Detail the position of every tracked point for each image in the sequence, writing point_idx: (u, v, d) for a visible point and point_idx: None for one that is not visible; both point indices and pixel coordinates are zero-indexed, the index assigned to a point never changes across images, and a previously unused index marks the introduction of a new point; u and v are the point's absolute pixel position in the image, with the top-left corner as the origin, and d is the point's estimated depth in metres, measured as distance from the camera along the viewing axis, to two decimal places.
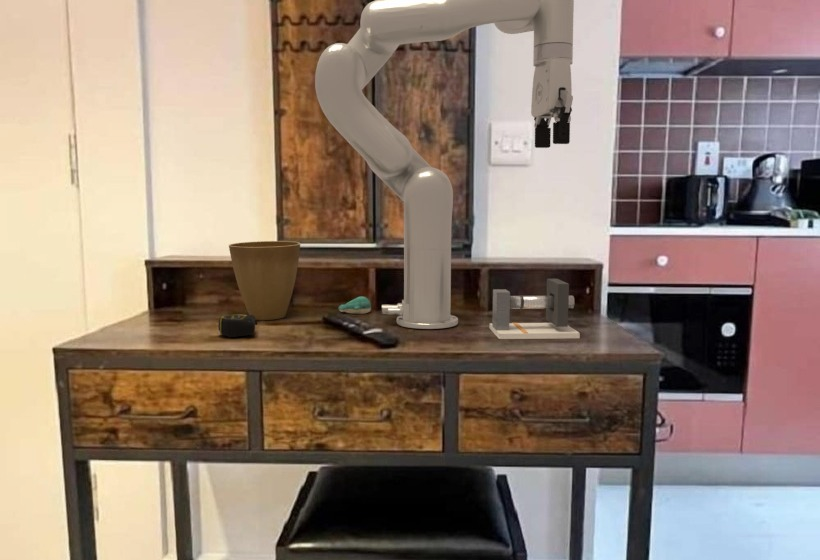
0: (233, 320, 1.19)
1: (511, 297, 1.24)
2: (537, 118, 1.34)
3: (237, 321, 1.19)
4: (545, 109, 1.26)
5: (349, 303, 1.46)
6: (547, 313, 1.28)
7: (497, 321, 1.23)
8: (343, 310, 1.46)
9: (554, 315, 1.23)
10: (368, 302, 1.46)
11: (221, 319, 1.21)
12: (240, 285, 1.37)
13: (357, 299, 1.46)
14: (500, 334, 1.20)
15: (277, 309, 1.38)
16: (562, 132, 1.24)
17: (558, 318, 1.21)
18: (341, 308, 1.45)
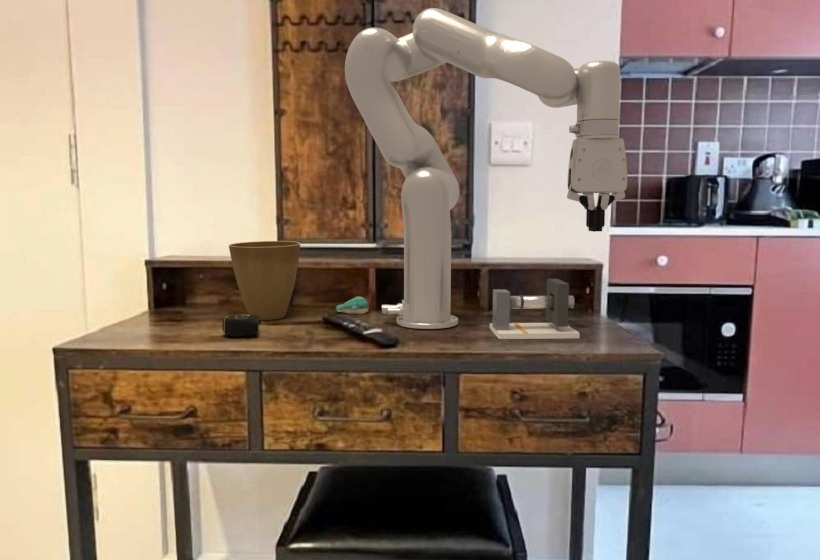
0: (237, 320, 1.20)
1: (511, 297, 1.24)
2: (591, 197, 1.21)
3: (241, 321, 1.20)
4: (620, 188, 1.20)
5: (346, 303, 1.46)
6: (547, 313, 1.28)
7: (497, 321, 1.23)
8: (340, 310, 1.45)
9: (554, 315, 1.23)
10: (365, 302, 1.46)
11: (225, 319, 1.21)
12: (240, 285, 1.37)
13: (354, 299, 1.46)
14: (500, 334, 1.20)
15: (277, 309, 1.38)
16: None
17: (558, 318, 1.21)
18: (338, 308, 1.45)
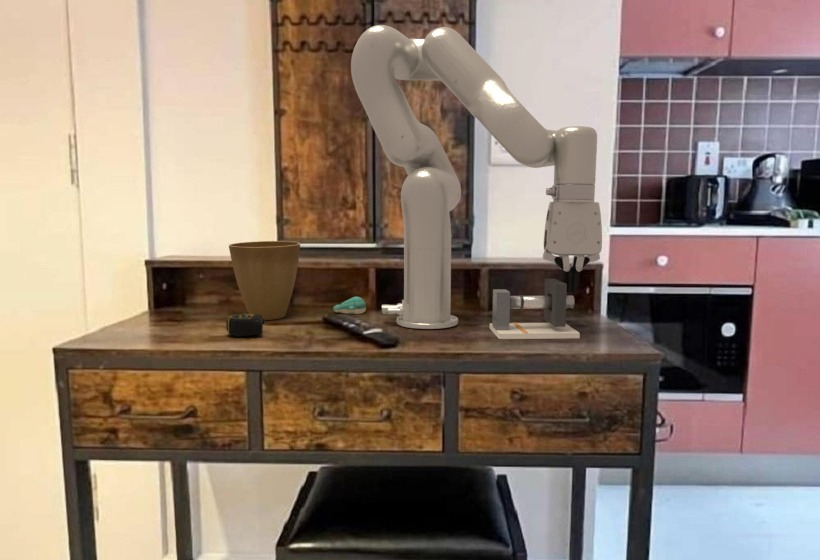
0: (241, 320, 1.20)
1: (511, 297, 1.24)
2: (566, 259, 1.23)
3: (245, 321, 1.20)
4: (595, 252, 1.21)
5: (344, 303, 1.46)
6: (544, 313, 1.28)
7: (497, 321, 1.23)
8: (338, 310, 1.45)
9: (552, 315, 1.23)
10: (363, 302, 1.46)
11: (229, 319, 1.21)
12: (240, 285, 1.37)
13: (352, 299, 1.46)
14: (500, 334, 1.20)
15: (277, 309, 1.38)
16: None
17: (556, 318, 1.21)
18: (336, 308, 1.45)
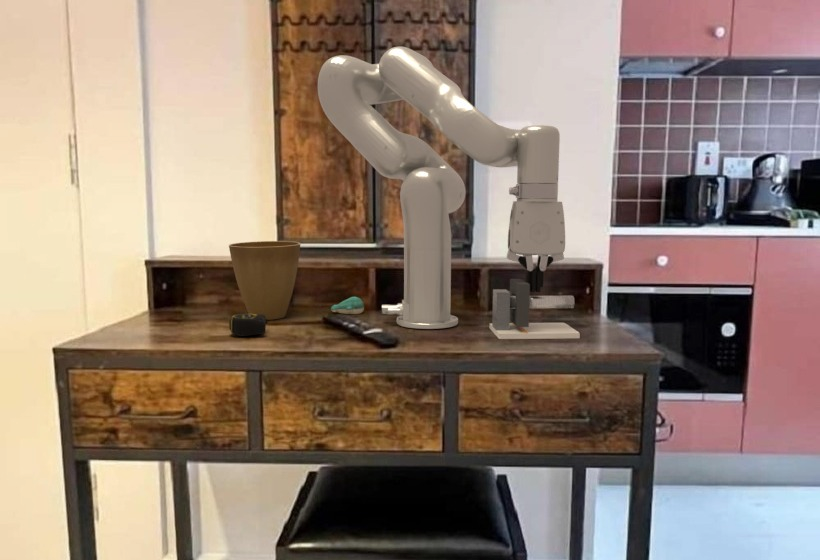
0: (244, 319, 1.20)
1: (511, 297, 1.24)
2: (529, 259, 1.22)
3: (248, 320, 1.20)
4: (558, 251, 1.21)
5: (342, 303, 1.46)
6: (510, 314, 1.28)
7: (497, 321, 1.23)
8: (335, 310, 1.45)
9: (516, 315, 1.22)
10: (361, 302, 1.46)
11: (232, 318, 1.21)
12: (240, 285, 1.37)
13: (350, 299, 1.46)
14: (500, 334, 1.20)
15: (277, 309, 1.38)
16: None
17: (519, 318, 1.21)
18: (333, 308, 1.45)
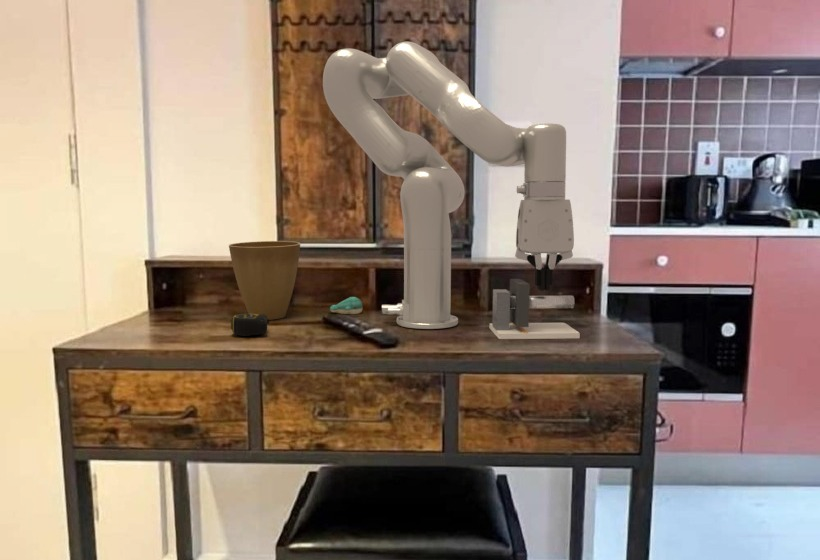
0: (246, 319, 1.20)
1: (511, 297, 1.24)
2: (538, 257, 1.22)
3: (250, 320, 1.20)
4: (566, 249, 1.21)
5: (340, 303, 1.46)
6: (510, 314, 1.28)
7: (497, 321, 1.23)
8: (334, 310, 1.45)
9: (516, 315, 1.22)
10: (359, 302, 1.46)
11: (234, 318, 1.21)
12: (240, 285, 1.37)
13: (348, 299, 1.46)
14: (500, 334, 1.20)
15: (277, 309, 1.38)
16: None
17: (519, 318, 1.21)
18: (332, 308, 1.45)
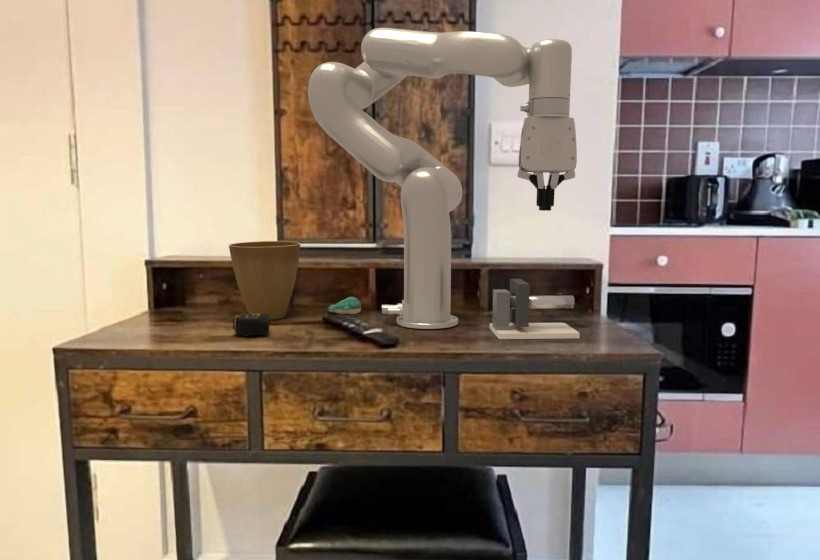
0: (248, 319, 1.20)
1: (511, 297, 1.24)
2: (540, 176, 1.21)
3: (252, 320, 1.20)
4: (569, 168, 1.20)
5: (339, 303, 1.45)
6: (510, 314, 1.28)
7: (497, 321, 1.23)
8: (333, 310, 1.45)
9: (516, 315, 1.22)
10: (358, 302, 1.46)
11: (236, 318, 1.21)
12: (240, 285, 1.37)
13: (347, 299, 1.45)
14: (500, 334, 1.20)
15: (277, 309, 1.38)
16: None
17: (519, 318, 1.21)
18: (331, 308, 1.45)
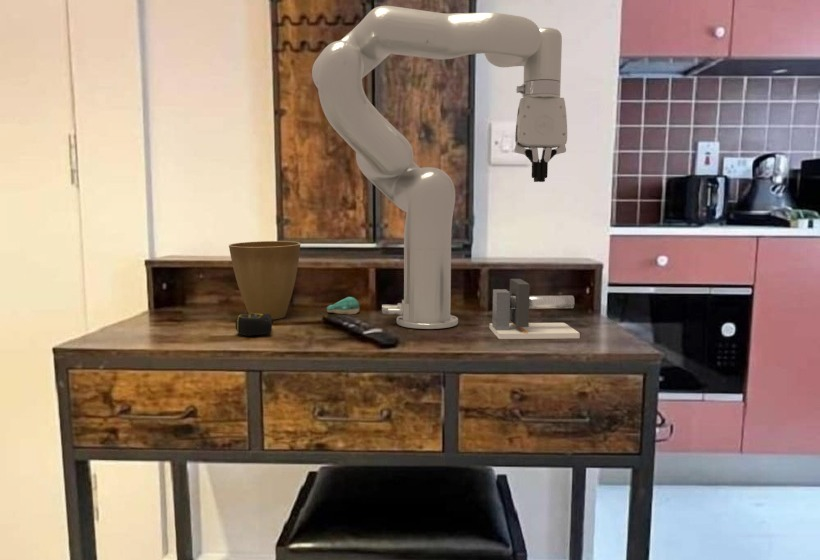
0: (250, 319, 1.21)
1: (511, 297, 1.24)
2: (535, 151, 1.35)
3: (254, 320, 1.20)
4: (560, 143, 1.34)
5: (337, 303, 1.45)
6: (510, 314, 1.28)
7: (497, 321, 1.23)
8: (331, 310, 1.45)
9: (516, 315, 1.22)
10: (356, 303, 1.45)
11: (238, 318, 1.22)
12: (240, 285, 1.37)
13: (345, 299, 1.45)
14: (500, 334, 1.20)
15: (277, 309, 1.38)
16: None
17: (519, 318, 1.21)
18: (329, 308, 1.45)
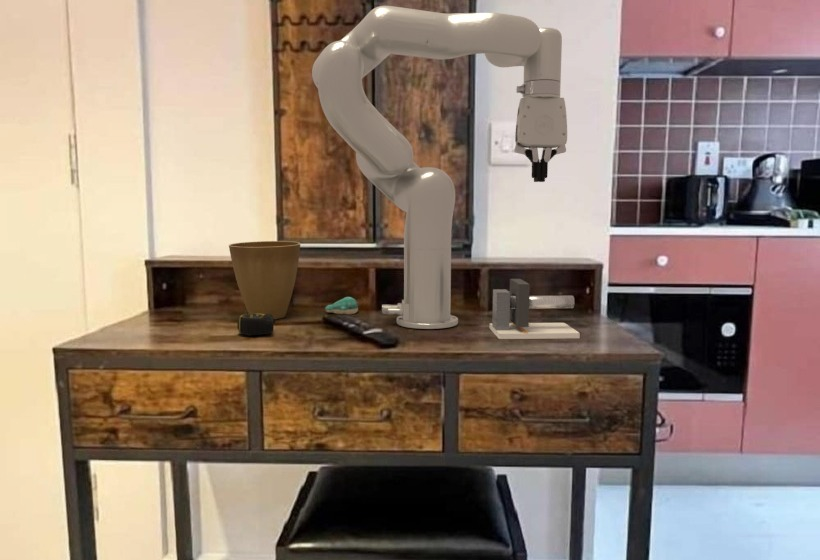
0: (252, 319, 1.21)
1: (511, 297, 1.24)
2: (535, 151, 1.35)
3: (256, 320, 1.21)
4: (560, 143, 1.34)
5: (336, 303, 1.45)
6: (510, 314, 1.28)
7: (497, 321, 1.23)
8: (330, 310, 1.45)
9: (516, 315, 1.22)
10: (355, 303, 1.45)
11: (240, 318, 1.22)
12: (240, 285, 1.37)
13: (344, 299, 1.45)
14: (500, 334, 1.20)
15: (277, 309, 1.38)
16: None
17: (519, 318, 1.21)
18: (327, 308, 1.45)
